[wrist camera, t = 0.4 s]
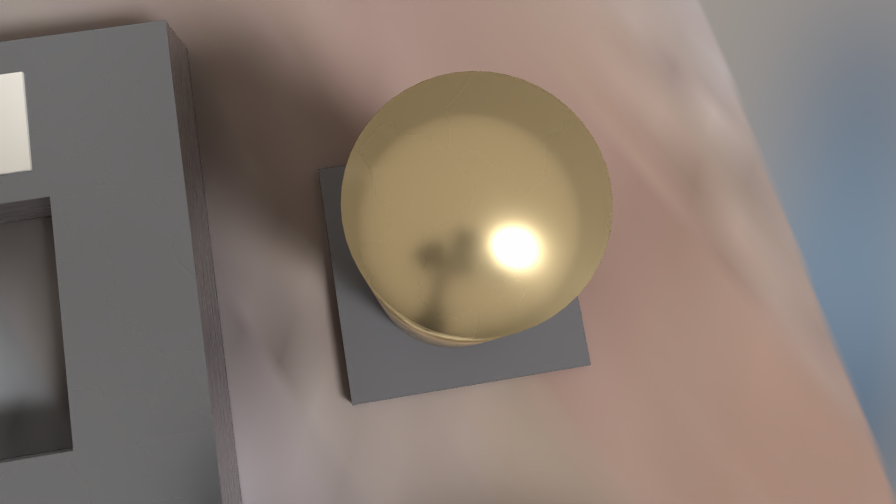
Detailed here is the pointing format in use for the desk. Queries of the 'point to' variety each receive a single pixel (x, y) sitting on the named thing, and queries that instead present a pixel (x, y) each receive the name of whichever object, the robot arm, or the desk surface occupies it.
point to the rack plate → (120, 266)
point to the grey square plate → (420, 364)
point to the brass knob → (475, 207)
